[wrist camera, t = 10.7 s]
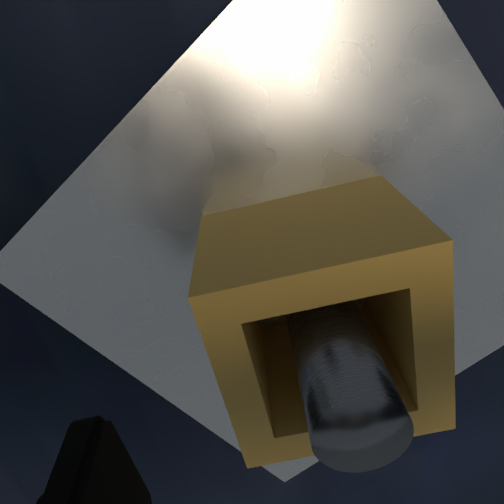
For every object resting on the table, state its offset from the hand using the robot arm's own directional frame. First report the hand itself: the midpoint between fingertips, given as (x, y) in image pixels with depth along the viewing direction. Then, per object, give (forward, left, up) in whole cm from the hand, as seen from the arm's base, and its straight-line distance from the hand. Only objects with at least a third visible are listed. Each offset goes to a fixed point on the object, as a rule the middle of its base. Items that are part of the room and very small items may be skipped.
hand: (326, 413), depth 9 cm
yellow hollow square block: (-1, -2, -7) cm, 7 cm away
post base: (0, -1, -8) cm, 7 cm away
